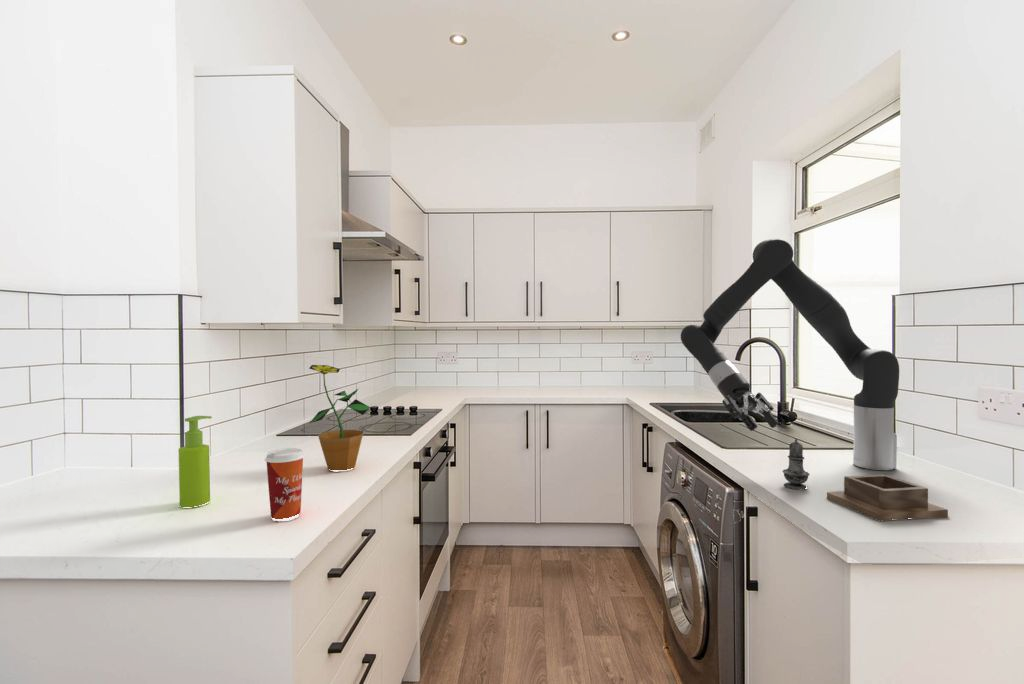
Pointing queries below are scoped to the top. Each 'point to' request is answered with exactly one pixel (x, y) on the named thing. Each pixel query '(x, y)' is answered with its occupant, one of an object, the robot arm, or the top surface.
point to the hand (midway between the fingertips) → (765, 427)
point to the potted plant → (339, 443)
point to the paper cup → (285, 481)
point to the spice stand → (886, 498)
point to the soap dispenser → (194, 467)
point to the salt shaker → (795, 467)
